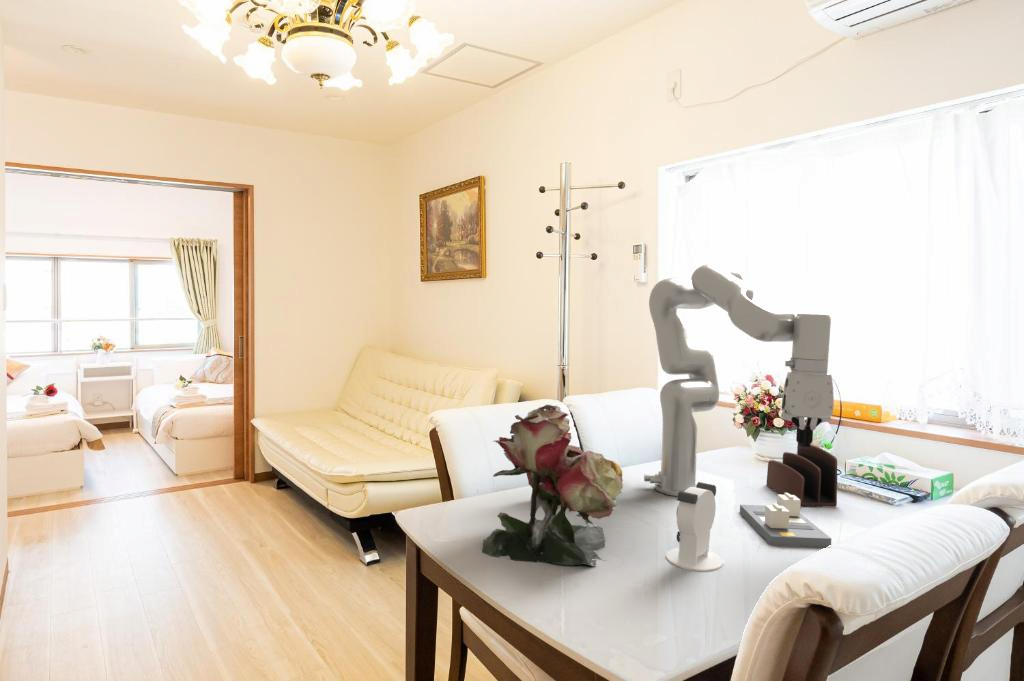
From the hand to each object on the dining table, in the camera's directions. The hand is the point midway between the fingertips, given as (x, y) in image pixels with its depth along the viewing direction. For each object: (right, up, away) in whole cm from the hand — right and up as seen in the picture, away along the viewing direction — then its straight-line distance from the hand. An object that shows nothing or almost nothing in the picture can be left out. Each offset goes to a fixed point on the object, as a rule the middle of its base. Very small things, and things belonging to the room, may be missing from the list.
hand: (803, 445), depth 146 cm
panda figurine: (-29, -22, -14) cm, 39 cm away
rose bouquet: (-58, -20, -6) cm, 61 cm away
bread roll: (-41, -18, +42) cm, 61 cm away
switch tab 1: (-6, -19, +1) cm, 19 cm away
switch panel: (-3, -21, +6) cm, 22 cm away
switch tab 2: (+1, -18, +10) cm, 21 cm away
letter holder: (+14, -20, +33) cm, 41 cm away
